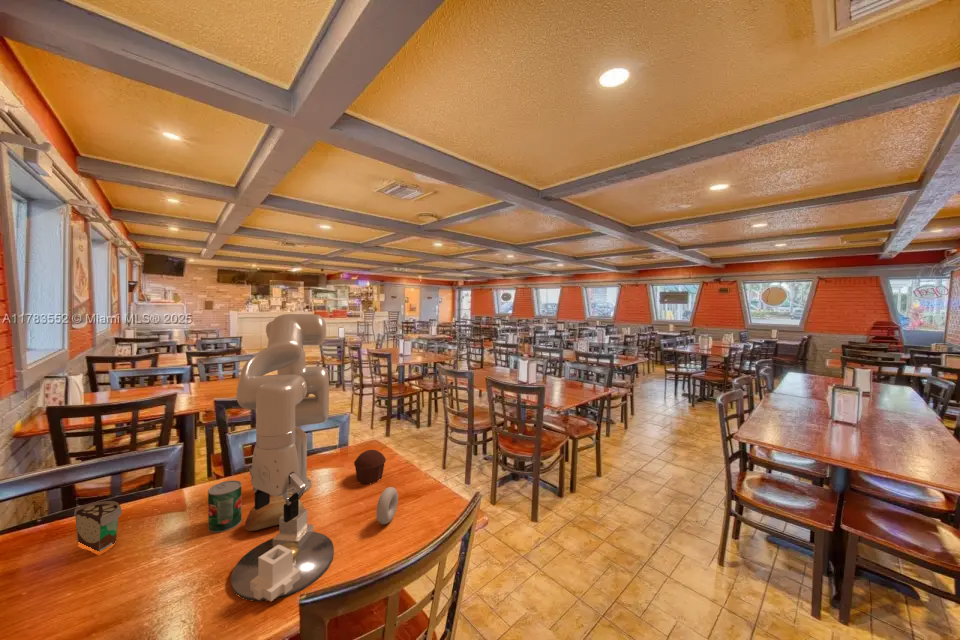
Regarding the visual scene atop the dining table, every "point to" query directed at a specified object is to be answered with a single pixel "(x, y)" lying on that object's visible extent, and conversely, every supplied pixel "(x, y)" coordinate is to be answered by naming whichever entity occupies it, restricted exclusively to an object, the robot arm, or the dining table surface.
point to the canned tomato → (224, 506)
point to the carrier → (308, 556)
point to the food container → (97, 524)
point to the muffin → (369, 466)
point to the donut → (387, 505)
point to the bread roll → (267, 514)
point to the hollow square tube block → (275, 574)
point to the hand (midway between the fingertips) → (276, 512)
